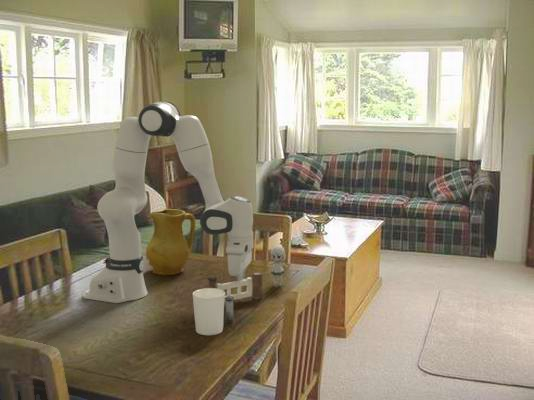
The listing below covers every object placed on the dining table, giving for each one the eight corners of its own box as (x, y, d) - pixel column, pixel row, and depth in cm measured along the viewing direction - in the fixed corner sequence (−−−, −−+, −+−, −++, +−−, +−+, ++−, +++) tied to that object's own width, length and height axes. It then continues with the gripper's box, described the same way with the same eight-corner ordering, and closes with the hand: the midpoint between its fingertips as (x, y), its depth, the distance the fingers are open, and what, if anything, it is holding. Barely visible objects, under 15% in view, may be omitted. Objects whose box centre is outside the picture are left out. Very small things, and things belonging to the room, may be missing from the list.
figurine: (262, 285, 245) (262, 246, 243) (268, 280, 251) (268, 242, 248) (288, 288, 241) (288, 248, 239) (294, 283, 247) (294, 245, 244)
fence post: (256, 299, 229) (256, 274, 227) (252, 298, 230) (252, 273, 229) (262, 298, 230) (262, 273, 228) (258, 296, 232) (258, 272, 230)
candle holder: (212, 338, 194) (212, 300, 191) (186, 332, 199) (185, 294, 197) (231, 328, 202) (231, 291, 200) (206, 322, 207) (205, 286, 205)
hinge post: (207, 309, 219) (206, 278, 217) (209, 306, 222) (209, 276, 220) (215, 309, 219) (215, 279, 217) (218, 306, 221) (217, 276, 220)
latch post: (224, 323, 206) (223, 298, 205) (226, 320, 209) (226, 295, 208) (232, 323, 206) (232, 299, 204) (235, 320, 208) (234, 296, 207)
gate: (218, 303, 220) (217, 284, 219) (216, 302, 221) (215, 283, 220) (251, 296, 228) (251, 278, 227) (249, 295, 229) (249, 277, 228)
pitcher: (153, 263, 274) (153, 205, 269) (196, 267, 272) (198, 208, 267) (140, 276, 258) (140, 214, 253) (186, 280, 255) (187, 218, 250)
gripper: (238, 235, 238) (239, 272, 240) (224, 249, 218) (225, 289, 220) (255, 236, 237) (255, 273, 239) (242, 250, 217) (243, 290, 219)
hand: (241, 281), depth 230 cm, fingers closed
